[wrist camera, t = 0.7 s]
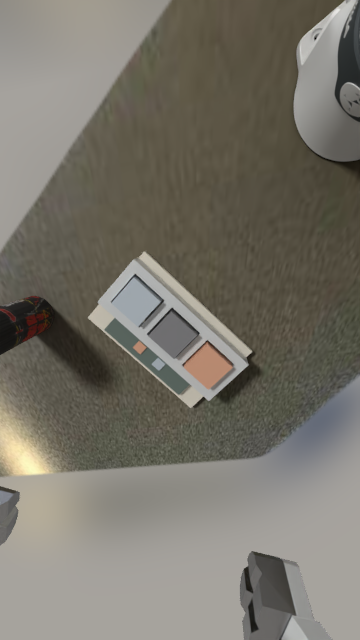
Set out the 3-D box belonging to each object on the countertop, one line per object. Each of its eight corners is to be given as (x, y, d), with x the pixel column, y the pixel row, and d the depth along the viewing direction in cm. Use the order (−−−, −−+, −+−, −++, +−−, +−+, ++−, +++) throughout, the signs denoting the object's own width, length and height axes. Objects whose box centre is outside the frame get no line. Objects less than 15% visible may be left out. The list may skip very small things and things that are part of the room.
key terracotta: (207, 339, 45) (207, 344, 43) (231, 361, 46) (232, 367, 43) (185, 361, 46) (183, 367, 44) (208, 382, 47) (208, 389, 45)
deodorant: (31, 336, 51) (-40, 375, 36) (12, 305, 50) (-69, 332, 35) (60, 322, 50) (-1, 356, 35) (41, 290, 48) (-30, 311, 34)
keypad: (145, 251, 45) (139, 252, 41) (251, 349, 48) (255, 359, 44) (90, 316, 49) (79, 322, 45) (191, 404, 51) (189, 418, 47)
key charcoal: (173, 307, 44) (171, 311, 42) (197, 330, 45) (197, 335, 43) (151, 331, 46) (148, 336, 43) (175, 353, 46) (173, 358, 44)
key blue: (137, 275, 44) (133, 277, 41) (163, 298, 44) (160, 302, 42) (116, 299, 45) (111, 303, 43) (141, 322, 45) (137, 326, 43)
